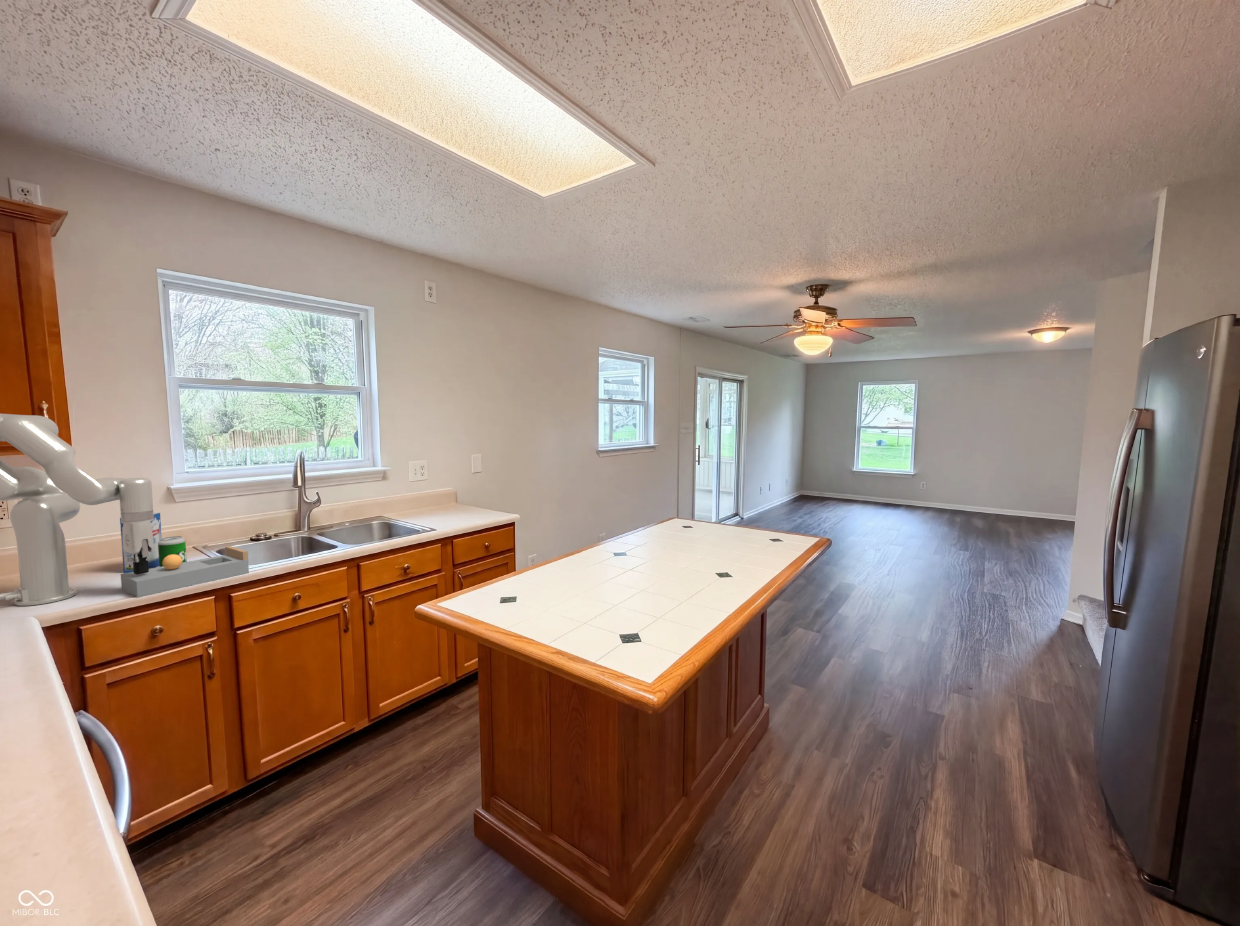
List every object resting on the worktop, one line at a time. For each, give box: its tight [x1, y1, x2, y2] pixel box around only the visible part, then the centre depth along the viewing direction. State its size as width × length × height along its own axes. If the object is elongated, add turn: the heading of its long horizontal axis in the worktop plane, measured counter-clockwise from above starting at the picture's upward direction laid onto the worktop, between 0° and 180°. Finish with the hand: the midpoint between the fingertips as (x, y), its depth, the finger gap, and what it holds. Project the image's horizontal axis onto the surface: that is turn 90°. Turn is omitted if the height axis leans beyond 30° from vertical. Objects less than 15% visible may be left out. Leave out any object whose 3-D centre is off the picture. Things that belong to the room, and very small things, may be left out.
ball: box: [162, 554, 182, 570], centre depth 167 cm, size 5×5×5 cm
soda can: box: [158, 535, 188, 567], centre depth 182 cm, size 8×8×12 cm
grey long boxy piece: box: [120, 545, 250, 598], centre depth 170 cm, size 30×14×8 cm, turn 149°
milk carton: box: [119, 512, 163, 574], centre depth 182 cm, size 10×6×20 cm, turn 10°
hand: (141, 573), depth 160 cm, fingers closed
